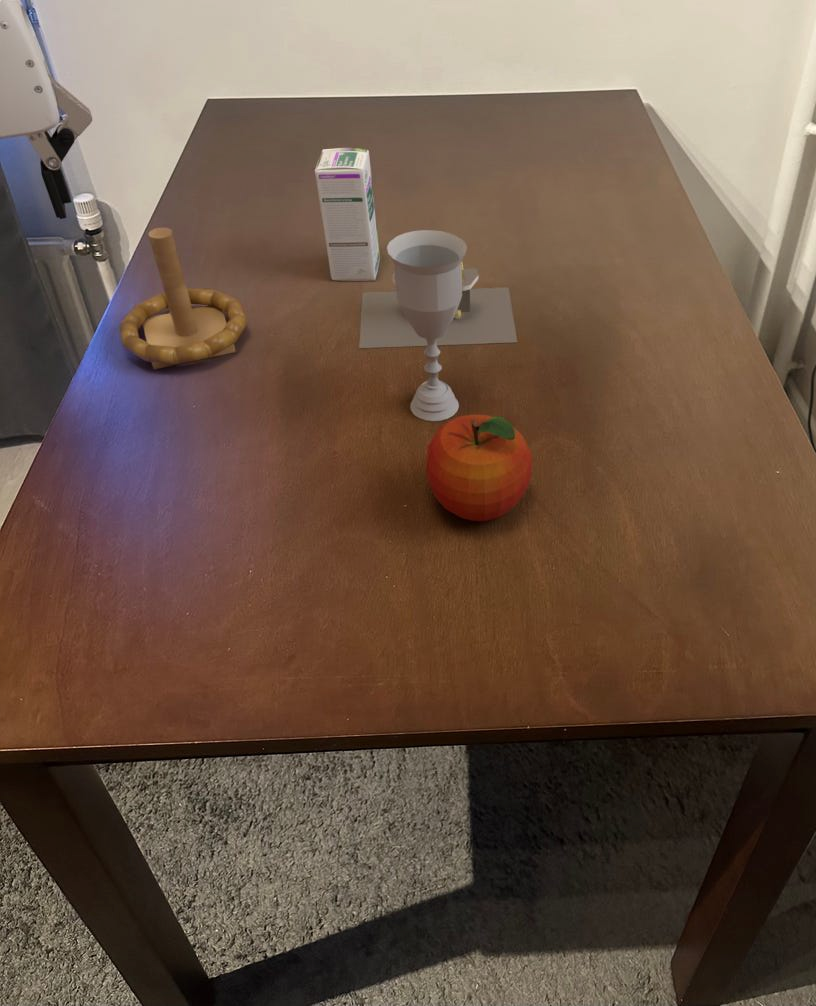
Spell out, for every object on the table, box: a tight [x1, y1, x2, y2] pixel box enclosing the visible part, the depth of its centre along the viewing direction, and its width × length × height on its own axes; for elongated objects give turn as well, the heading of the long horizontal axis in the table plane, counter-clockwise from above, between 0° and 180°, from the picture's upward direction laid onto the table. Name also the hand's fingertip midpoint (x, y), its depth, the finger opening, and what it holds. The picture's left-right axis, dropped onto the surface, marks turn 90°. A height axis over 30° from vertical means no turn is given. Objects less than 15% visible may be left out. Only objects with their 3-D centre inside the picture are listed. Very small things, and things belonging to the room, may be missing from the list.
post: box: [142, 226, 236, 370], centre depth 97 cm, size 9×9×13 cm
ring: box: [119, 287, 248, 365], centre depth 100 cm, size 14×14×2 cm
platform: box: [358, 261, 518, 349], centre depth 103 cm, size 12×18×7 cm, turn 94°
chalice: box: [386, 229, 468, 422], centre depth 87 cm, size 7×7×18 cm
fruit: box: [425, 414, 533, 522], centre depth 79 cm, size 10×10×10 cm
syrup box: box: [314, 147, 381, 282], centre depth 108 cm, size 6×6×14 cm
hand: (27, 215), depth 74 cm, fingers open, 4 cm apart
